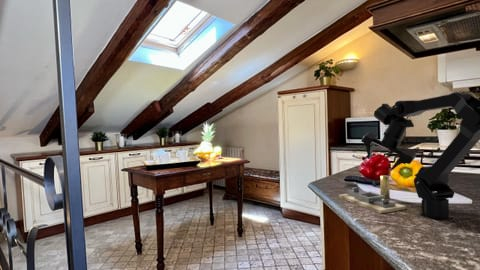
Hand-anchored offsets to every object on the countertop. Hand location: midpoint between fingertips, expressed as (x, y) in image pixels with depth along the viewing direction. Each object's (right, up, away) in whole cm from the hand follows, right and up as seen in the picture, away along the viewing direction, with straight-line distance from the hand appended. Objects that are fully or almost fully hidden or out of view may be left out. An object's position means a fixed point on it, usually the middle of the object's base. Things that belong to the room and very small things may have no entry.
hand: (379, 164), depth 109 cm
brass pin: (+2, -14, -1) cm, 14 cm away
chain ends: (-7, -14, -5) cm, 17 cm away
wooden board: (-7, -14, -5) cm, 17 cm away
